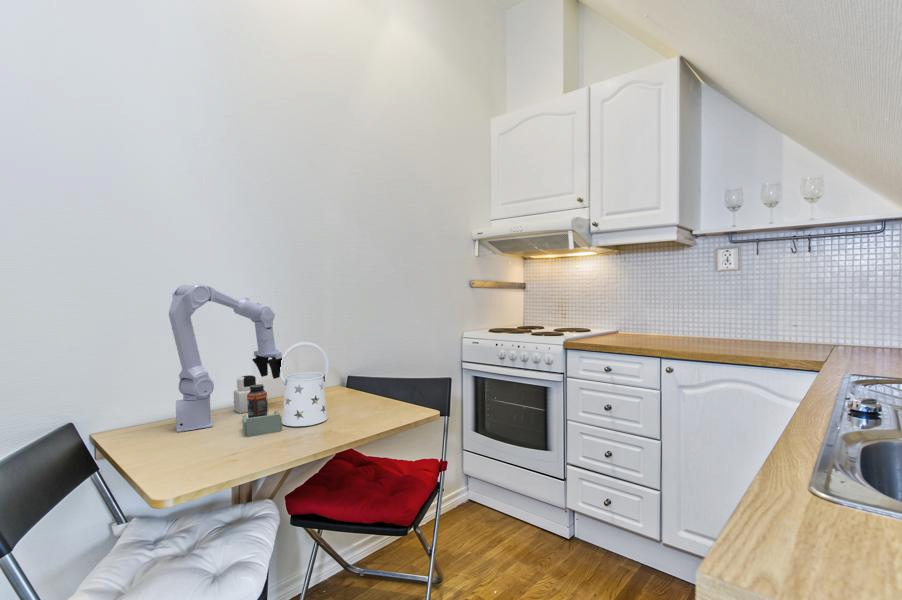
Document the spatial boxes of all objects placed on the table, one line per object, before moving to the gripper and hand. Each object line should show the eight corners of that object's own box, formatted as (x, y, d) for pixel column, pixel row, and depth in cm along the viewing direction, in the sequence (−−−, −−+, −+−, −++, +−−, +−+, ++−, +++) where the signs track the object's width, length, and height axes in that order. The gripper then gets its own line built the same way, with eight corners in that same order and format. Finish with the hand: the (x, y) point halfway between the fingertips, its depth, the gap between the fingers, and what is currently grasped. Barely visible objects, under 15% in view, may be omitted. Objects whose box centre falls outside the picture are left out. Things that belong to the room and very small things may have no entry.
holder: (245, 437, 127) (244, 419, 127) (242, 428, 135) (242, 412, 135) (282, 431, 132) (281, 414, 132) (278, 423, 140) (277, 407, 140)
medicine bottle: (255, 406, 163) (253, 373, 163) (261, 410, 158) (259, 376, 158) (234, 410, 159) (232, 376, 159) (239, 414, 153) (238, 379, 153)
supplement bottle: (272, 418, 146) (270, 383, 146) (260, 423, 141) (258, 387, 140) (256, 417, 148) (255, 383, 148) (244, 422, 142) (242, 387, 142)
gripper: (287, 338, 159) (292, 375, 161) (264, 336, 168) (269, 372, 169) (269, 342, 154) (274, 381, 155) (246, 340, 162) (251, 377, 164)
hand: (270, 377), depth 162 cm, fingers open, 7 cm apart
